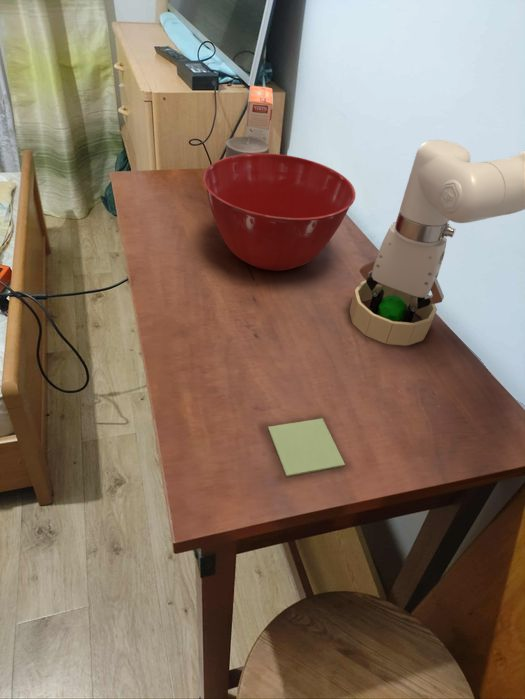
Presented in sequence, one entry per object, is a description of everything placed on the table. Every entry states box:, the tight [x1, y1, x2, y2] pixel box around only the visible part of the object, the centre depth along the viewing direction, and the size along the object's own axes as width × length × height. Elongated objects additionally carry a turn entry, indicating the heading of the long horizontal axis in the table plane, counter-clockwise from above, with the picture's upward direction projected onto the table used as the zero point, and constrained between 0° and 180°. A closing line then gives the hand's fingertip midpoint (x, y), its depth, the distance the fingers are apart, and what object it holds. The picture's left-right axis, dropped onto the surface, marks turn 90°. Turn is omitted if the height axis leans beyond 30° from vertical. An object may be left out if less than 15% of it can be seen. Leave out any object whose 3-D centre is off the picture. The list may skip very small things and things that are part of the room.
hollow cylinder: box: [349, 279, 438, 347], centre depth 90 cm, size 14×14×4 cm
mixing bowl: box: [202, 152, 356, 272], centre depth 100 cm, size 28×28×16 cm
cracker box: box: [244, 85, 274, 145], centre depth 126 cm, size 14×6×21 cm, turn 179°
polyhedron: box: [377, 295, 408, 322], centre depth 90 cm, size 5×5×5 cm
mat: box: [267, 417, 346, 478], centre depth 67 cm, size 8×8×1 cm
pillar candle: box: [225, 136, 270, 158], centre depth 117 cm, size 10×10×15 cm
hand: (389, 317), depth 91 cm, fingers closed on polyhedron, 5 cm apart
